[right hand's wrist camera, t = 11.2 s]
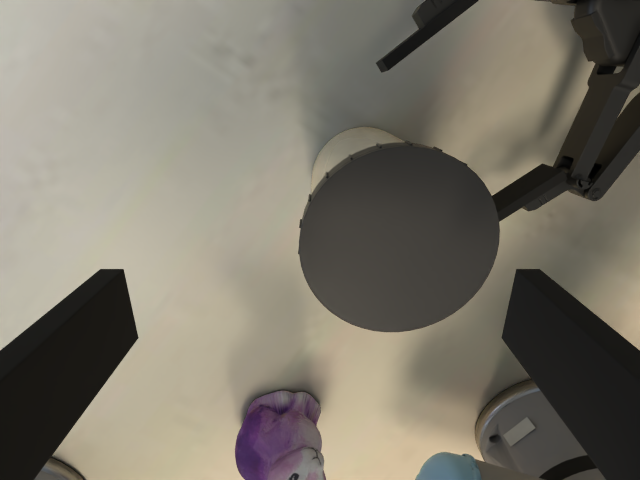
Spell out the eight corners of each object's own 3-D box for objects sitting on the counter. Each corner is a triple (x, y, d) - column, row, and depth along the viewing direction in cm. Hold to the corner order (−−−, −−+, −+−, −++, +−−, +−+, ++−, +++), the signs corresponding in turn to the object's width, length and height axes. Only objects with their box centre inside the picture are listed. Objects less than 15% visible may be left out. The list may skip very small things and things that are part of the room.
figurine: (329, 384, 43) (335, 523, 29) (314, 448, 47) (312, 598, 33) (247, 373, 43) (214, 509, 29) (238, 438, 46) (205, 588, 32)
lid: (318, 122, 19) (319, 124, 17) (516, 163, 20) (534, 169, 18) (284, 300, 22) (282, 316, 21) (451, 329, 23) (461, 346, 22)
